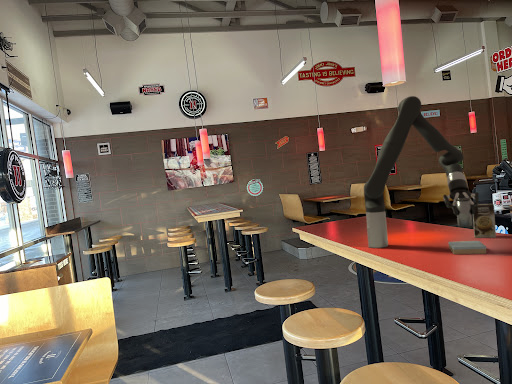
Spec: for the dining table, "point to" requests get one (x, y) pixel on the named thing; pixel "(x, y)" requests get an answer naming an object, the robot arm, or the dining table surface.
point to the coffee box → (484, 221)
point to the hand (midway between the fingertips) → (465, 213)
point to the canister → (464, 211)
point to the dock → (467, 247)
